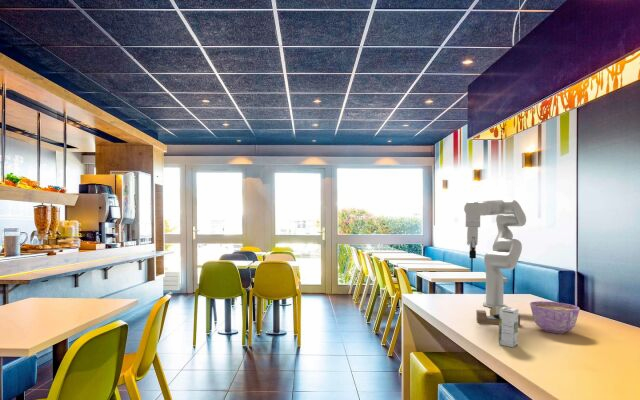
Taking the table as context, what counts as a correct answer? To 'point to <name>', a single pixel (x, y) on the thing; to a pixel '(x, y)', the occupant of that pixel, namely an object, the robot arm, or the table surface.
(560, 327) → the bowl of food
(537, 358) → the table surface
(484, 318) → the walnut cradle
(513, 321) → the syrup box
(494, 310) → the skincare box
